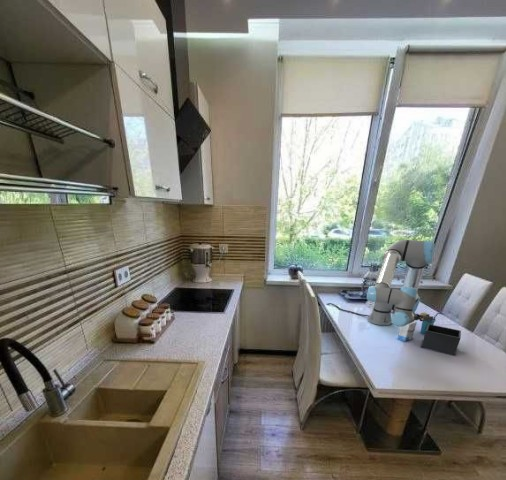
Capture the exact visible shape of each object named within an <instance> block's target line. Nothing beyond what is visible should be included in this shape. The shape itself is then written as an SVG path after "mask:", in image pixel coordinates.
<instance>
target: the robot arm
mask: <svg viewBox="0 0 506 480" xmlns="http://www.w3.org/2000/svg"><path fill="white" fill-rule="evenodd" d="M435 245H436V244H435V242H433V241H430V240H429V241H428V240H414V239H413V240H412V239H401V240H400V239H399V240H397V241H395V242H393V243H392V244H390V245H389V246H388V247H387V248H386V249H385V250H384V251H383V254H382V256H381V257H382V262H381V265H380V268H379V271H378V274H377V277H376V280H375V283H374V285H370V286H369V287H368V289H367V292H366V300H367V301H369V302H374V303H373V309H372V311H371V313H370V314H362V313H358V312H356V311H355V312H354V311H351V310H347V309H343V308H341V307H339V306H338V305H337V304H334V303H332V302H329V303H326V305H331V306H334V307H336V308H337V309H338V310H340V311H344V312H347V313H352V314H355V315H358V316H363V317H368V319H367V320H368V322H369V323H371V324H373V325H376V326H384V327H385V326H390V325H391V324H392V325H393V326H395V327H398V328H401V327H402V326H406V325H407V324H410V323H412V322H414V321H420V322H422V321H427V322H428V321H432V320H433V318H434V316H432V315H431V314H429V313H426V314H427V315H420V313H416V311H417V309H418V307H419V304H420V301H421V296H419V293H418V290H419V287H420V284H421V280H422V276H423V273H424V270H425V268H426V267H428V266H429V265H430V264H433V260H434V253H435V248H436V247H435ZM400 262H405V265H406V266H407V268H406V272H405V276H404V281H403V285H402V286H401V287H400V289H396V288H391V286H392V282H393V279H394V276H395V274H396V273H395V272H396V269H397V267H398V264H399V263H400ZM430 315H431V316H430Z"/></svg>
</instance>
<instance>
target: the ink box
mask: <svg viewBox="0 0 506 480" xmlns="http://www.w3.org/2000/svg"><path fill="white" fill-rule="evenodd" d="M417 324H418V322H417V320H415V321H414V322H412V323H410V324H407V325H406V326H402V327H399V328H400V329H399V332H398V336H397V339H398V340H400V341H402V342H408V341H409V340H412V339H413V337H414V334H415V330H416V326H417Z"/></svg>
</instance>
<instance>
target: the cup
mask: <svg viewBox="0 0 506 480" xmlns="http://www.w3.org/2000/svg"><path fill="white" fill-rule="evenodd" d="M427 314H428V313H426V312H421V313H419V315H427ZM438 315H443V316H444V315H445V313H444V312H437V313H436V314H435V315H434V316H433V320H432V321H428V322H427V321H421V326H420V334H421V335H423V336H424V335H425V332H426V329H427V326H428V324H431V325H435V323H436V321H437V320H436V318H437V316H438Z"/></svg>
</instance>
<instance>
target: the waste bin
mask: <svg viewBox="0 0 506 480" xmlns="http://www.w3.org/2000/svg"><path fill="white" fill-rule="evenodd" d="M461 339H462V330H460V329H455V328H449V327H445V326H440V325H435V324H433V325H431V324H428V326H427V329H426V332H425V335H424V334H423V339H422V343H421V346H420V348H422V349H425V350H430V351H434V352H438V353H442V354H447V355H449V356H455V355H456V352H457V349H458V347H459V344H460V341H461Z"/></svg>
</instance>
